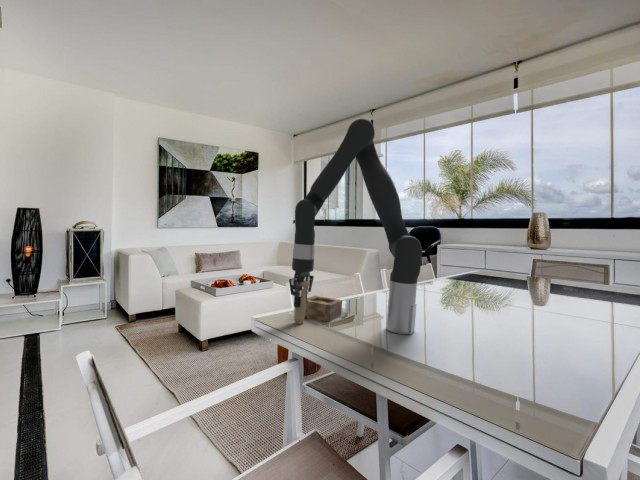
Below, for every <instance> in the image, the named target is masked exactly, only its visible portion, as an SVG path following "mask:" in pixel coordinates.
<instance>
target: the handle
mask: <svg viewBox="0 0 640 480" xmlns="http://www.w3.org/2000/svg"><path fill="white" fill-rule="evenodd" d="M309 285H310V282H309V281H306V282H301V283H300V284H298V287H301V286H303V287H304V289H303V290H302V293H301V304H300V307H293V308H294V324H296V323H297V325H303V324H304V320H305V318H306V317H305V310H306V287H308V286H309ZM298 292H299V289H298Z"/></svg>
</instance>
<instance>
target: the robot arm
mask: <svg viewBox="0 0 640 480" xmlns="http://www.w3.org/2000/svg"><path fill="white" fill-rule="evenodd" d="M375 130H376V129H375V126H374V124H373V123H372V122H371V120H368V119H366V118H358V119H355V120H354V121H353V122H351V123H350V125H349V126H348V128H347V132H346V133H345V136H344V138H343V140H342V142H341V144H340V145H339V147H338V148H337V150H336V152H335V153H334V155H333V156H332V157H331V159H330V160H329V161H328V163H327V164H326V165H325V167H324V168H323V169H322V170H321V172H320V173H319V175H317V177H316V179H315V180H314V182H313V183H312V185H311V187H310V189H309V191H308V193H307V194H306V196H305V198H304V199H301V200H299V202H297V204H296V205H295V208H294V209H295V212H294V225H295V231H294V242H293V243H294V244H293V249H292V262H291V263H292V264H291V270H292V271H294V275H293V278H289V280H288V282H289V283H288V284H289V290H290V291H289V292H290V295H291V296H293V297H294V299H293V306H294V307H293V308H295V307H300V304H301V293H302V290H303V289H304V287H303V286H301V287H298V284H300V283H301V282H306V281H309V282H310V285H309V286H308V287H306V304H307V298H308V295H309V294H310V292H312V286H313V283H314V280H315V279H314V277H315V276H314V275H312V274H311V272H312V273H313V271H314V265H315V253H316V252H315V239H316V232H315V231H316V230H315V221H316V217H317V215H318V214H319V212H320V210H321V208H322V207H323V205H324V204H325V202H326V200H327V199H328V198H329V197H330V195H331V194H332V193H333V191H334V190H335V188H337V186H338V184H339V183H340V181H342V178H343V176H344V175H345V173H346V172H347V170H348V169H349V167H350V165H351V163H353V161H354V159H356V162H357V163H358V166H359V168H360V171H361V174H362V178H363V181H364V185H365V187H366V190H367V193H368V196H369V197H370V198H369V199H370V200H371V203H372V205H373V207H374V210H375V212H376V214H377V216H378V219H379V221H380V223H381V224H382V227H383V229H384V232H385V236H386V240H387V243H388V246H389V250H390V252H391V255H392V256H393V257H394V258H393V267H392V271H391V272H390V275H389V276H390V278H389V285H388V287H389V288H388V300H387V302H388V303H387V311H386V312H387V313H386V314H387V315H386V325H385V329H386V330H387V331H389V332H391V333H393V334H394V333H395V334H399V335H411V336H412V335H413V333H414V332H415V328H416V315H417V303H416V302H417V301H416V299H417V289H418V288H417V286H418V279H419V277H420V274H421V266H422V265H421V264H422V258H423V247H422V243H421V242H420V240H419V239H418V238H416V237H415V236H411V235H410V232H409V231H408V229H407V227H406V224H405V222H404V219H403V215H402V207H401V201H400V197H399V192H398V190H397V188H396V186H395V183H394V181H393V178H392V176H391V175H390V173H389V171H388V170H387V169H386V167H385V165H384V164H383V163H382V161H381V160H380V157H379V155H378V152H377V149H376V146H375V142H374V139H375V136H376V135H375V134H376V131H375ZM298 289H299V292H298Z"/></svg>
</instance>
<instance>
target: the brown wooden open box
mask: <svg viewBox="0 0 640 480" xmlns="http://www.w3.org/2000/svg"><path fill="white" fill-rule="evenodd" d="M316 300H321V301H326V302H331V303H322V302H317V301H316ZM342 311H343V299H336V298H332V297H326V296H325V297H324V296H320V295H313V296H310V297H307V304H306V310H305V316H307V317H306V318H309V317H310V318H311V319H314V320H319V321H325V322H332V321H333V320H336V319H337V318H340V317H341V316H342Z"/></svg>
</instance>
